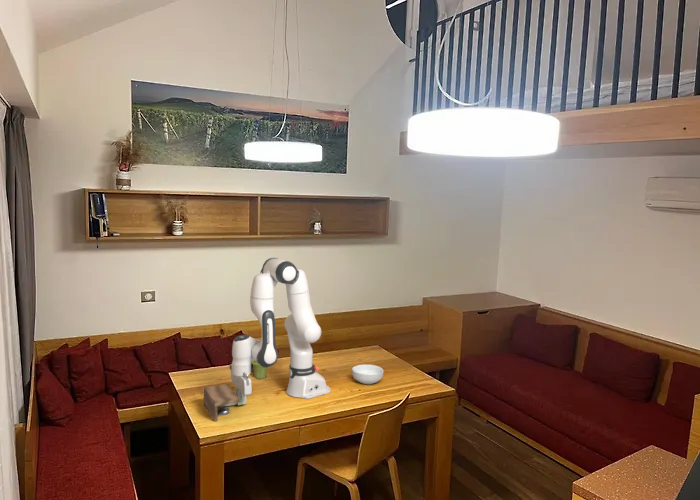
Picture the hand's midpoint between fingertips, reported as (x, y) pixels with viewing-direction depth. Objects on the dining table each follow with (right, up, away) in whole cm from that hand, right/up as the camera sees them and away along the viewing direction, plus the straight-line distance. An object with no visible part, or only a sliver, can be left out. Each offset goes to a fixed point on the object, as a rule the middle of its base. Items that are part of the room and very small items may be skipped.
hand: (241, 397), depth 262 cm
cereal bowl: (+61, -1, +37) cm, 71 cm away
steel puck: (-6, -5, -9) cm, 12 cm away
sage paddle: (-5, -3, -3) cm, 7 cm away
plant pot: (+3, +1, +37) cm, 37 cm away
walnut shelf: (-8, -4, -8) cm, 12 cm away
